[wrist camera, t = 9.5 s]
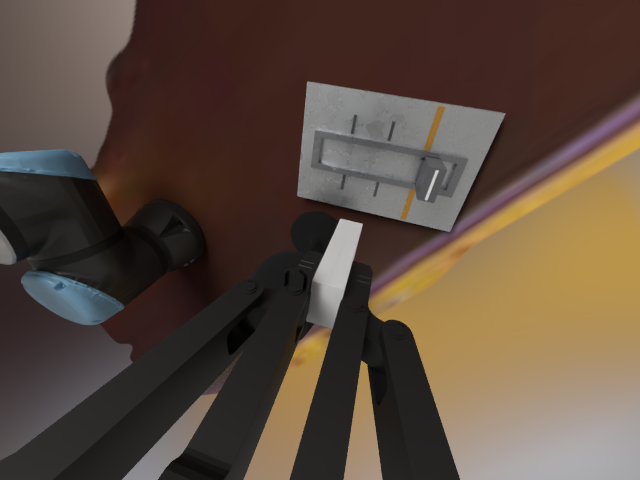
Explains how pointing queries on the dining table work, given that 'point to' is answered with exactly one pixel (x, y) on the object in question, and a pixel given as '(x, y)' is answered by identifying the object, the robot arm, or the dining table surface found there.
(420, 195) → the fader knob
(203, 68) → the dining table surface
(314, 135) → the console
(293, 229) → the wine glass
